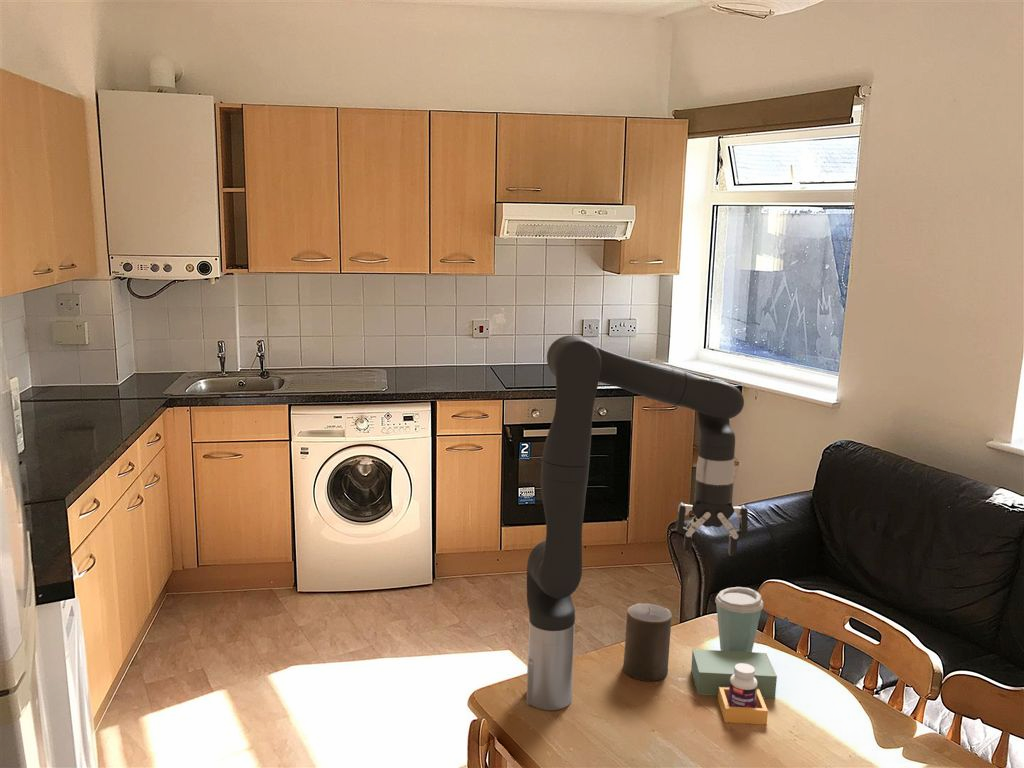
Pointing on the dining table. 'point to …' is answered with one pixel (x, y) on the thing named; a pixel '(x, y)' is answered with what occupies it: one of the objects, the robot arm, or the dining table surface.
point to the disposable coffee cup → (738, 618)
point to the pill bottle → (743, 687)
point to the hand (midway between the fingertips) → (709, 553)
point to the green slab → (715, 680)
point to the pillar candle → (647, 642)
